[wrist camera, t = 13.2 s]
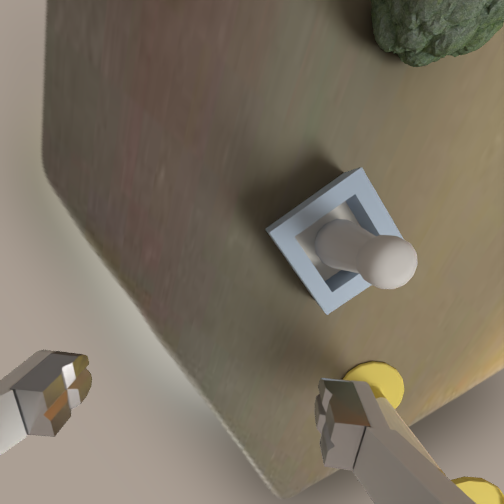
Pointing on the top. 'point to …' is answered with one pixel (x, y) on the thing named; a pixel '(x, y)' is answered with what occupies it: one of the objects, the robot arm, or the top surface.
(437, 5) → the vegetable
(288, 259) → the container
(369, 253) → the salt shaker
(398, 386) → the candle
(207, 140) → the top surface
